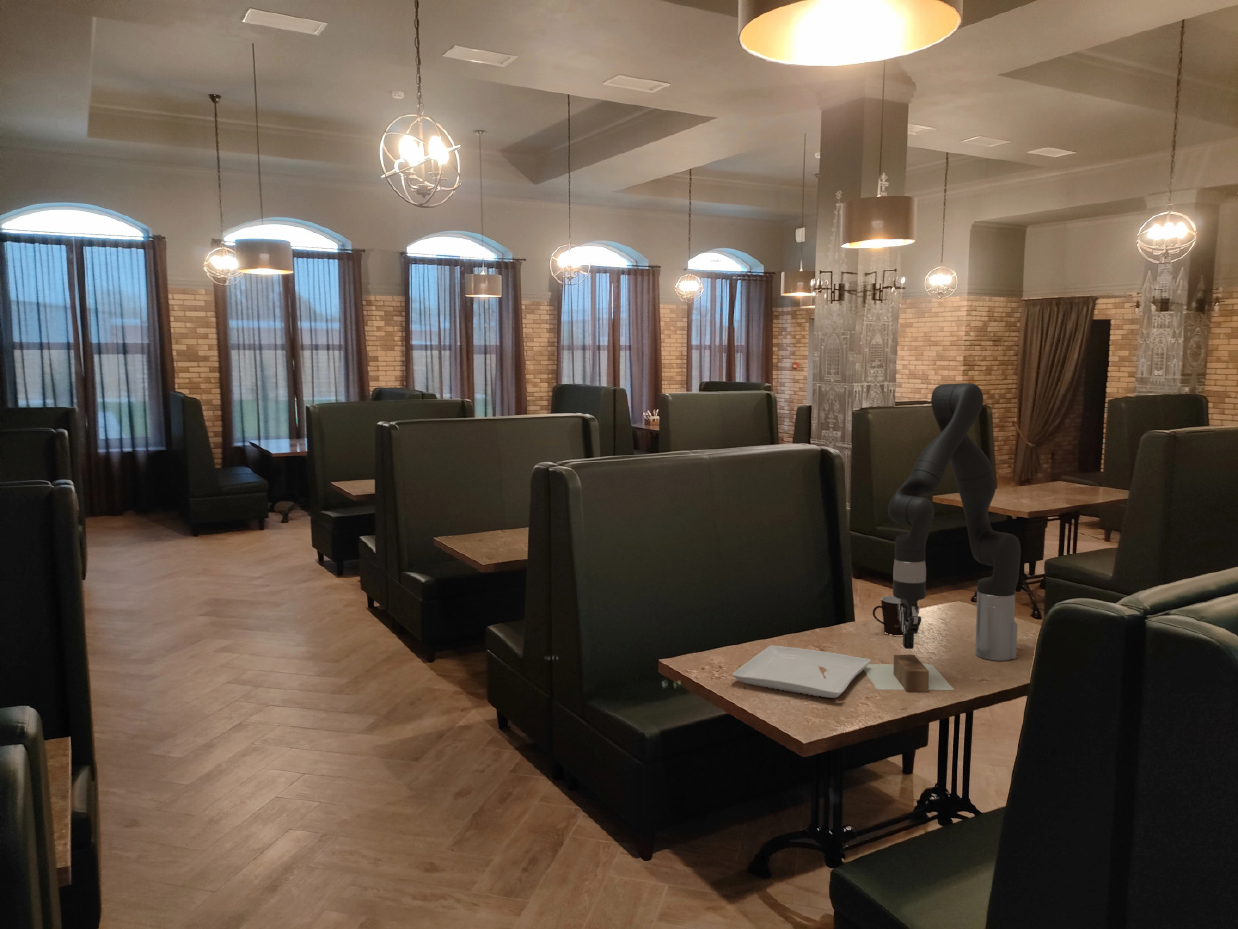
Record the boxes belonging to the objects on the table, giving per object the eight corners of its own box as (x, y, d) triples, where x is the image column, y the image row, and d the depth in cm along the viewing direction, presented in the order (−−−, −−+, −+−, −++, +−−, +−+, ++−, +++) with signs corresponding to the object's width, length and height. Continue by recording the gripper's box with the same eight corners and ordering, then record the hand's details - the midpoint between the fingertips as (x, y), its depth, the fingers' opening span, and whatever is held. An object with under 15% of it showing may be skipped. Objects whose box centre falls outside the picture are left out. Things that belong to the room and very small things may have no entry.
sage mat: (931, 666, 222) (931, 664, 222) (954, 692, 204) (954, 689, 204) (860, 666, 223) (860, 664, 223) (876, 691, 205) (876, 689, 205)
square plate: (872, 672, 220) (872, 657, 219) (840, 708, 196) (841, 691, 196) (770, 656, 234) (770, 642, 233) (730, 688, 210) (730, 672, 210)
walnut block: (914, 654, 214) (928, 671, 202) (913, 674, 215) (928, 692, 203) (893, 654, 215) (907, 671, 203) (893, 674, 215) (906, 692, 203)
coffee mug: (907, 629, 255) (908, 596, 254) (914, 638, 246) (915, 603, 245) (867, 628, 256) (867, 595, 255) (872, 637, 247) (873, 603, 246)
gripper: (933, 584, 202) (932, 656, 204) (917, 571, 215) (916, 639, 217) (901, 584, 203) (899, 656, 204) (886, 571, 216) (885, 639, 217)
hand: (908, 647), depth 211 cm, fingers closed
